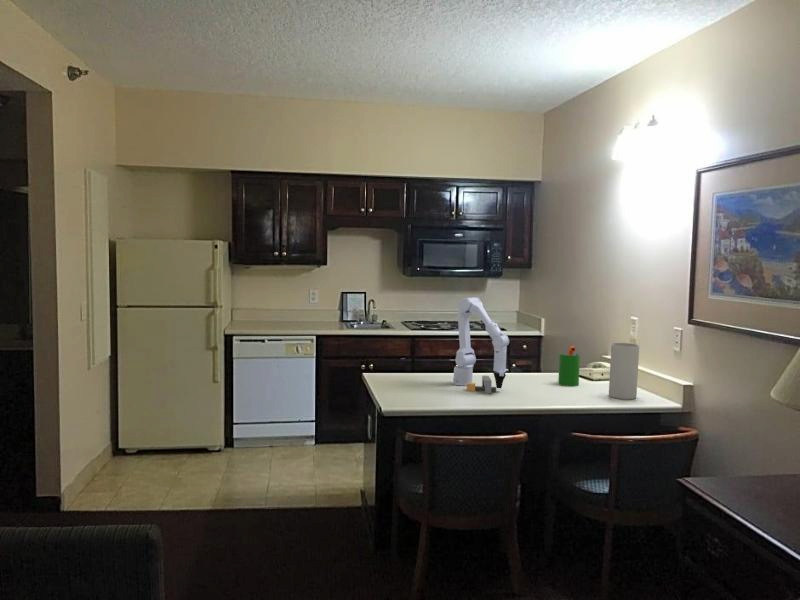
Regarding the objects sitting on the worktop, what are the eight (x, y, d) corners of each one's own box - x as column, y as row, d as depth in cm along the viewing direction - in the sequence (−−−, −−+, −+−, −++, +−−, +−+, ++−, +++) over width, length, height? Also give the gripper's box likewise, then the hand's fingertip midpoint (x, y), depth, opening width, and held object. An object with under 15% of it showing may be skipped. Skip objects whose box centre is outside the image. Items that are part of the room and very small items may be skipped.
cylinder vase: (604, 393, 317) (607, 342, 315) (629, 394, 318) (632, 342, 316) (614, 399, 305) (617, 346, 303) (640, 400, 306) (643, 347, 303)
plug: (466, 391, 316) (466, 383, 316) (466, 389, 320) (467, 382, 319) (496, 392, 314) (496, 385, 314) (495, 390, 318) (496, 383, 318)
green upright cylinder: (572, 382, 342) (574, 344, 340) (582, 385, 334) (584, 347, 332) (555, 383, 339) (557, 344, 337) (565, 386, 331) (567, 347, 329)
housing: (484, 393, 310) (485, 380, 310) (481, 388, 322) (482, 375, 321) (491, 394, 310) (491, 380, 310) (487, 388, 322) (488, 375, 321)
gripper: (510, 363, 308) (509, 391, 309) (506, 357, 322) (504, 384, 323) (495, 362, 308) (494, 391, 309) (491, 357, 322) (490, 384, 323)
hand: (498, 387), depth 316 cm, fingers closed
